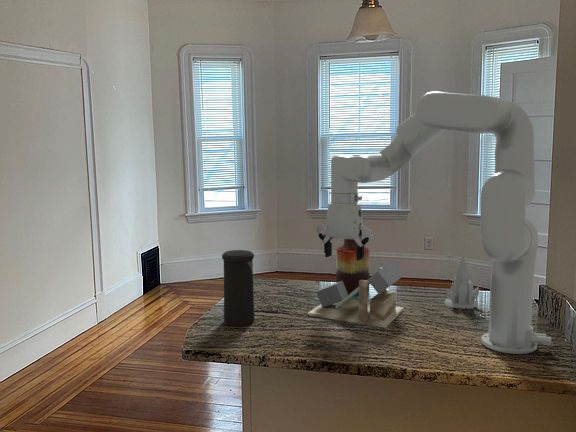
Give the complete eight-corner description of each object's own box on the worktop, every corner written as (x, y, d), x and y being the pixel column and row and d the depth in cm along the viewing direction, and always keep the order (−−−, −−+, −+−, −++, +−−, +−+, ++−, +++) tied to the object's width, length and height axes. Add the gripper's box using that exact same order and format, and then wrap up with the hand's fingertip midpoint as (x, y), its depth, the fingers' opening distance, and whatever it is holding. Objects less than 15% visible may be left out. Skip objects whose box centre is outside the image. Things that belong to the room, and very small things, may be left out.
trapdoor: (404, 274, 159) (392, 261, 161) (389, 286, 147) (377, 271, 148) (364, 306, 167) (353, 293, 168) (346, 320, 154) (335, 306, 155)
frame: (404, 309, 163) (404, 269, 161) (385, 328, 147) (385, 284, 146) (332, 299, 173) (332, 262, 172) (307, 315, 158) (307, 274, 156)
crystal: (474, 297, 175) (475, 251, 172) (481, 310, 162) (483, 260, 160) (441, 296, 176) (442, 250, 174) (446, 309, 163) (448, 259, 161)
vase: (371, 296, 177) (372, 233, 174) (337, 296, 177) (337, 233, 174) (366, 287, 187) (367, 228, 184) (334, 287, 187) (335, 228, 185)
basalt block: (342, 280, 164) (322, 287, 167) (336, 284, 160) (315, 291, 163) (348, 296, 164) (328, 303, 167) (342, 300, 159) (322, 307, 163)
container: (261, 321, 154) (260, 250, 151) (237, 329, 147) (235, 255, 144) (240, 314, 159) (239, 246, 157) (216, 322, 153) (214, 251, 150)
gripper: (377, 199, 157) (376, 258, 159) (321, 196, 165) (321, 252, 167) (368, 201, 150) (367, 263, 153) (311, 198, 158) (311, 257, 161)
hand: (343, 257), depth 160 cm, fingers open, 9 cm apart
